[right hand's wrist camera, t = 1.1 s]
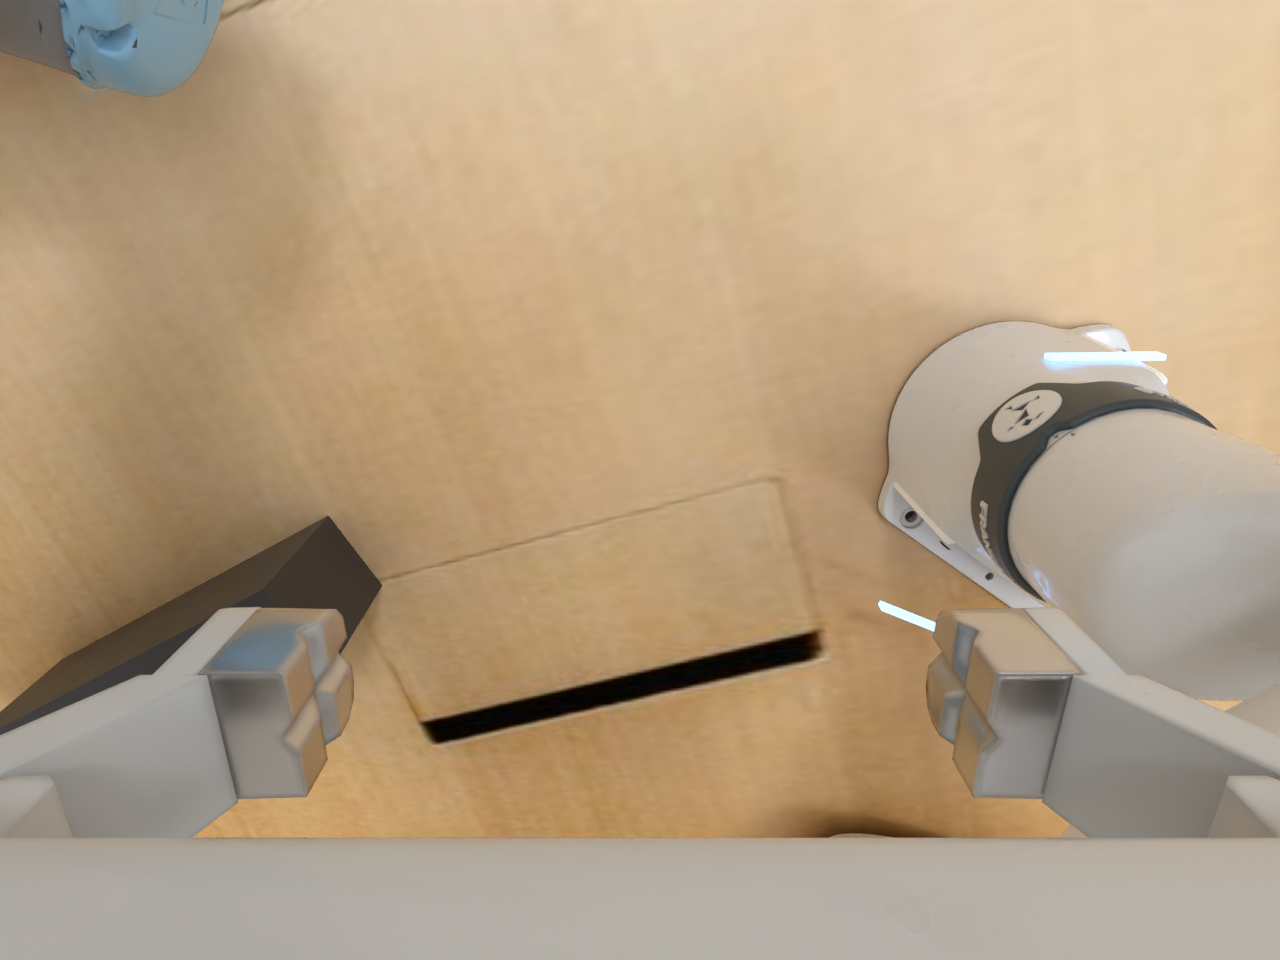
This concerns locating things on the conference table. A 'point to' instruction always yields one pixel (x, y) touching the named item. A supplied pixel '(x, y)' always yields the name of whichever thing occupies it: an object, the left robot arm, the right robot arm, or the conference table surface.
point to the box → (275, 578)
